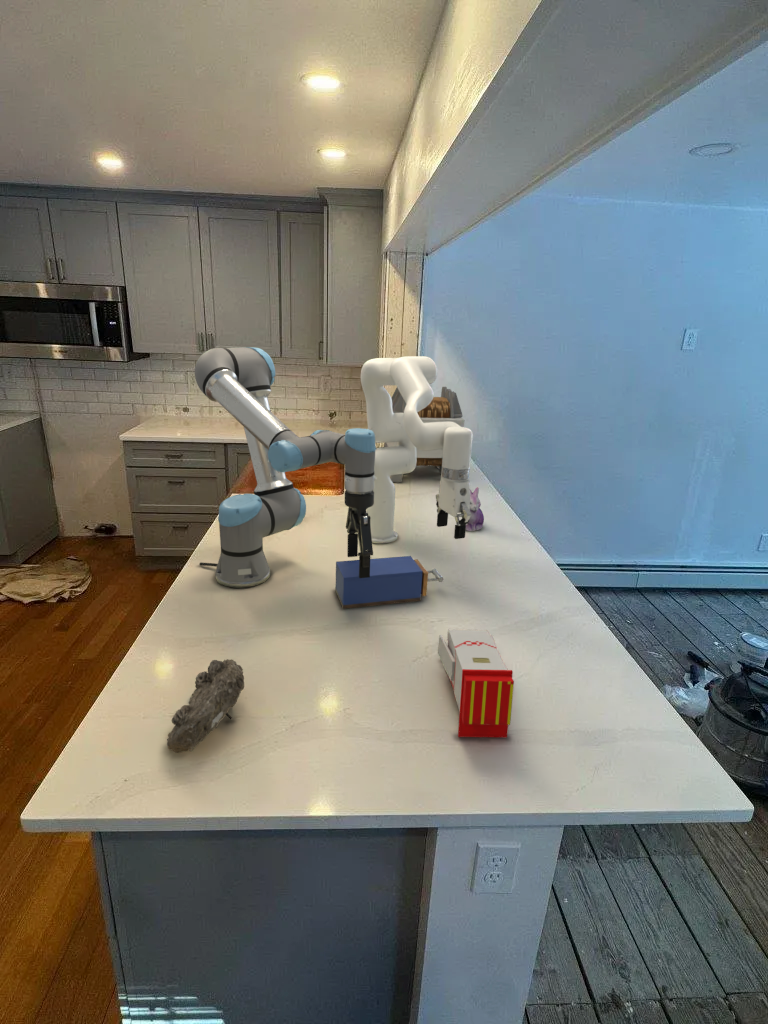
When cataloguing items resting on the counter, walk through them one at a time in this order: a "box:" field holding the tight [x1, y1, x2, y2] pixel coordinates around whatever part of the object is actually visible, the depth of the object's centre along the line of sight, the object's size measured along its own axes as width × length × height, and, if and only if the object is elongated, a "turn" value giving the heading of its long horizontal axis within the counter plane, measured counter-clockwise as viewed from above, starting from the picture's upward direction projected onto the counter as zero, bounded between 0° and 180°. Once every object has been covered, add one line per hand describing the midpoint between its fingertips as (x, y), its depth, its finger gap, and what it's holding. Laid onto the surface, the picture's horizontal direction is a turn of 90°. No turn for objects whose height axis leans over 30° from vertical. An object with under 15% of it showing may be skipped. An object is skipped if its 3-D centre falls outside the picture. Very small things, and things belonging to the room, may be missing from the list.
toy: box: [437, 628, 515, 738], centre depth 117 cm, size 12×13×30 cm
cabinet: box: [334, 555, 423, 610], centre depth 155 cm, size 22×10×9 cm, turn 106°
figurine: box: [466, 486, 485, 532], centre depth 206 cm, size 9×10×15 cm
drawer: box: [413, 558, 445, 597], centre depth 156 cm, size 26×9×7 cm, turn 106°
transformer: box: [383, 386, 465, 483], centre depth 268 cm, size 34×33×41 cm
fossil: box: [166, 658, 245, 754], centre depth 106 cm, size 22×10×15 cm
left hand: (358, 566), depth 151 cm, fingers open, 13 cm apart
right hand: (450, 532), depth 159 cm, fingers open, 9 cm apart
